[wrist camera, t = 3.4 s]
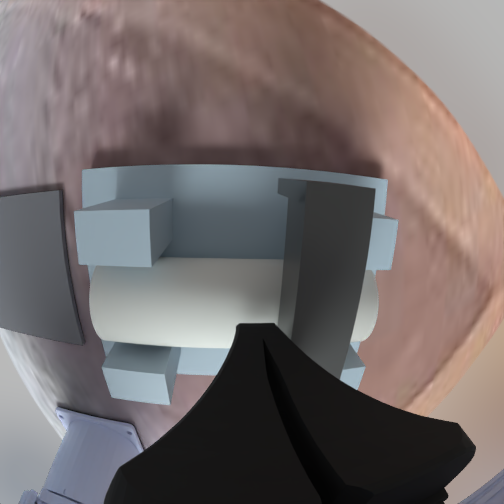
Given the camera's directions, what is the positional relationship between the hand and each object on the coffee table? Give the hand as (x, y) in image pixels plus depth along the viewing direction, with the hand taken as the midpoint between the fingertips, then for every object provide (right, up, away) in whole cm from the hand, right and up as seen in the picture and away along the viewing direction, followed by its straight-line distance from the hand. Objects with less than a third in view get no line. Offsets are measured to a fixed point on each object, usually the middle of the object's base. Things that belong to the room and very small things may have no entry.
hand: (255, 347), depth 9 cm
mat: (-18, +2, +4) cm, 19 cm away
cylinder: (-1, +1, +5) cm, 5 cm away
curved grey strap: (+2, +1, +3) cm, 3 cm away
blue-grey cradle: (-1, +2, +6) cm, 6 cm away
